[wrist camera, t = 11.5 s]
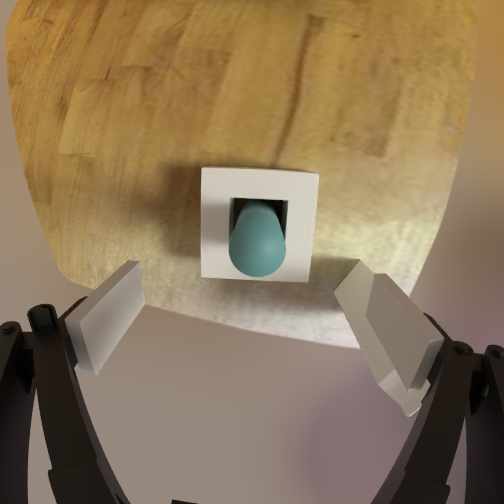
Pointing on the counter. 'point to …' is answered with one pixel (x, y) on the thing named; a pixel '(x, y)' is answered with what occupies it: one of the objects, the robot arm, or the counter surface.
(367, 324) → the milk
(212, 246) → the socket
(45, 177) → the counter surface
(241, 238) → the peg
